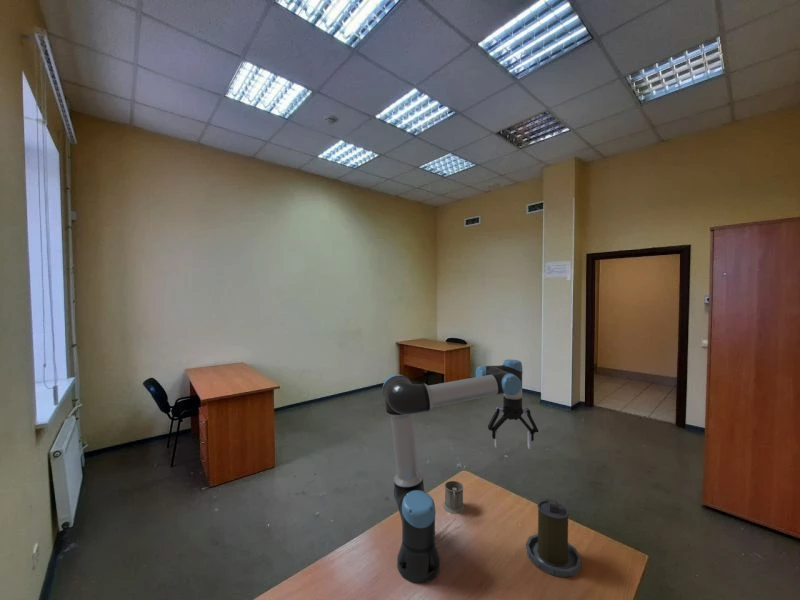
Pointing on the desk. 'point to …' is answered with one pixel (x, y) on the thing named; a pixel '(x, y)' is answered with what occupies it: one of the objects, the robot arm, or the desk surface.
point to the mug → (453, 497)
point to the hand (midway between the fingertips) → (512, 447)
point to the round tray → (564, 571)
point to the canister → (553, 533)
